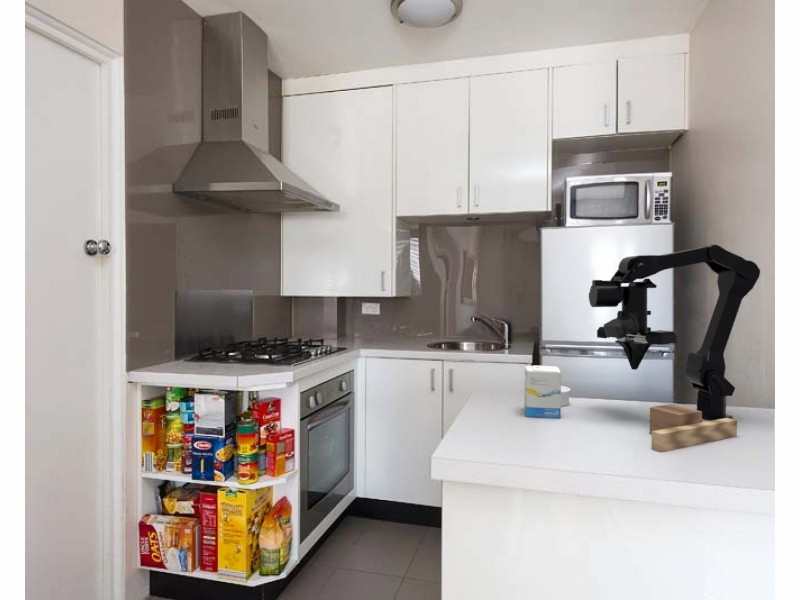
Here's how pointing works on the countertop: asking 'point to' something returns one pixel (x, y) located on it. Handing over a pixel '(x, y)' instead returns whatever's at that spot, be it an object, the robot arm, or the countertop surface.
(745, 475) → the countertop surface
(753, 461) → the countertop surface
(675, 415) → the walnut block
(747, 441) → the countertop surface
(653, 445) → the oak plank
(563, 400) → the ramekin
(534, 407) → the ink box
